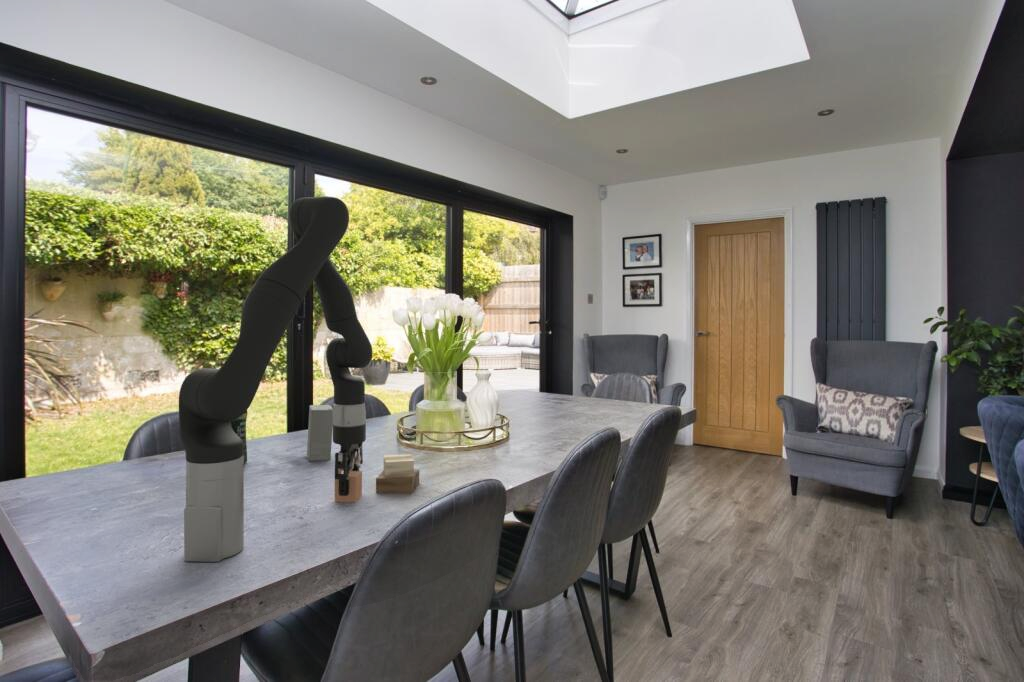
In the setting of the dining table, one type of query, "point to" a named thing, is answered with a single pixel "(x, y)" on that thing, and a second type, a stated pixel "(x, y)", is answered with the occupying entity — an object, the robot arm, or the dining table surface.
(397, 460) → the tower middle
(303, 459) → the dining table surface
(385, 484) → the tower base
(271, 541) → the dining table surface
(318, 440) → the skincare box
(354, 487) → the peach cube on top
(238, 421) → the coffee jar
